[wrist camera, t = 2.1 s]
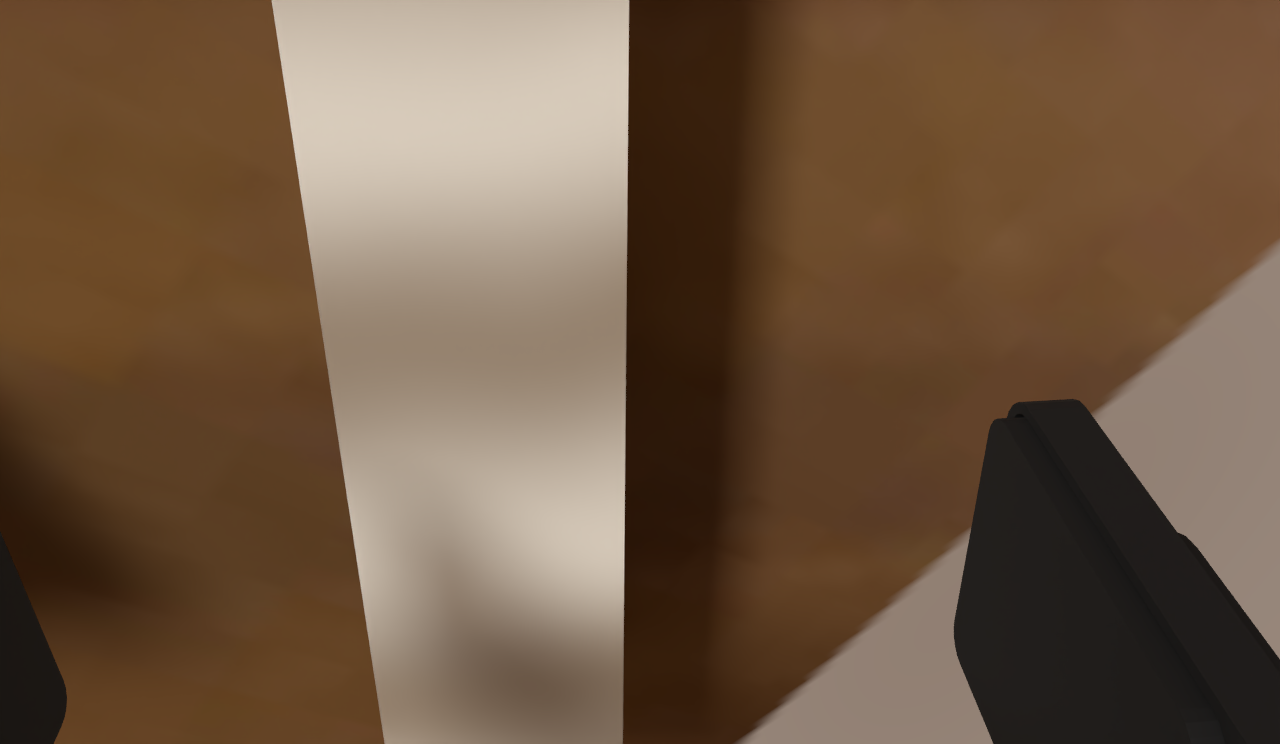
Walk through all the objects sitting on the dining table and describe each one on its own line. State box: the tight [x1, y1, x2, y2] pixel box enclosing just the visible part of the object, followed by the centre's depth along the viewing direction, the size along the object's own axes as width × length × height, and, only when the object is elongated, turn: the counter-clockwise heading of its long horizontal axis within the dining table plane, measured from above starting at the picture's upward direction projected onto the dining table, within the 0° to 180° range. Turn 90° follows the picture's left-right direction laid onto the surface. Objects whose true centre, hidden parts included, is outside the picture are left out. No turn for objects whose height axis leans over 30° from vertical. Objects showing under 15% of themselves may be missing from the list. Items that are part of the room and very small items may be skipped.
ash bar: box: [272, 0, 629, 744], centre depth 17 cm, size 18×4×4 cm, turn 179°
